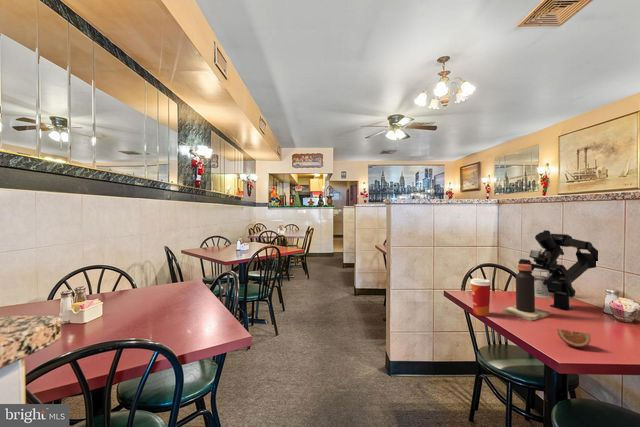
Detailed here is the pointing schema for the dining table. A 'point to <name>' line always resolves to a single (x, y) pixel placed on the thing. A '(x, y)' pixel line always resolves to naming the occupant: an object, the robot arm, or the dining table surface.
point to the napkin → (526, 313)
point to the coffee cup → (480, 296)
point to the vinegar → (525, 289)
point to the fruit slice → (574, 338)
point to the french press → (541, 284)
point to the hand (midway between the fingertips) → (533, 282)
